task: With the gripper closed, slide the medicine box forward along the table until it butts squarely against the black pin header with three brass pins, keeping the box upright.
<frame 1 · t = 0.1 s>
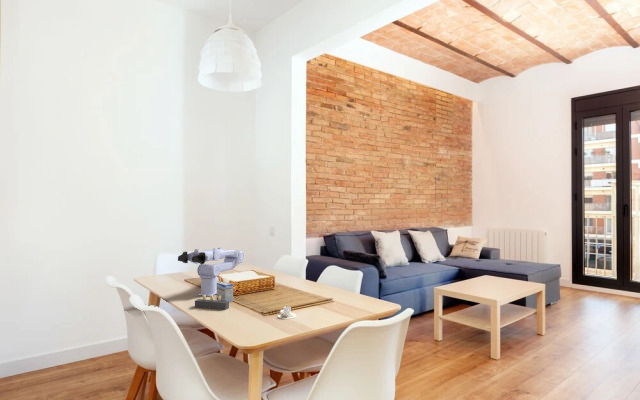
hand: (185, 258, 182), 22 cm above the table, tool horizontal, fingers open, 7 cm apart
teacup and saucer: (291, 315, 166), on the table
pin header: (211, 307, 177), on the table
medicine box: (224, 301, 188), on the table
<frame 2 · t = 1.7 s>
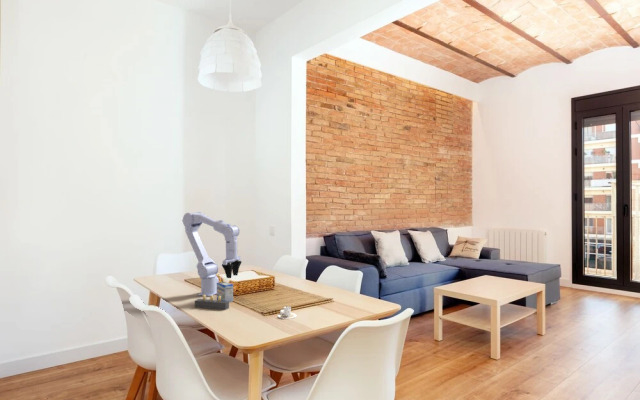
hand: (232, 276, 194), 10 cm above the table, tool pointing down, fingers open, 6 cm apart
nothing on the table moved.
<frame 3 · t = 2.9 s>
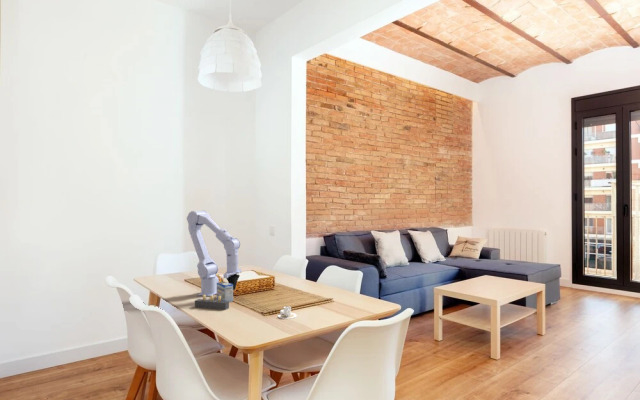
hand: (232, 289, 195), 4 cm above the table, tool pointing down, fingers closed
nothing on the table moved.
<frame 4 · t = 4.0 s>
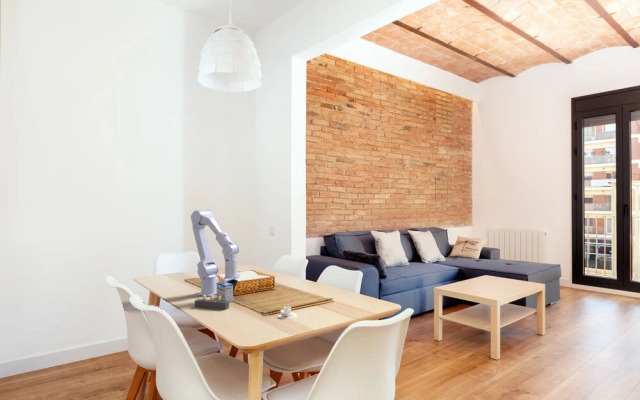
hand: (231, 294, 194), 1 cm above the table, tool pointing down, fingers closed
medicine box: (224, 301, 188), on the table, touching gripper
everything else where it was.
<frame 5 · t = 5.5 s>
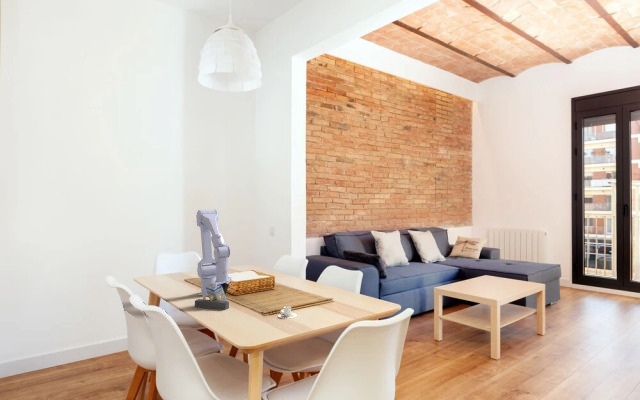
hand: (222, 299, 186), 1 cm above the table, tool pointing down, fingers closed, pressing on medicine box
medicine box: (219, 302, 183), point 1 cm above the table, touching gripper
everything else where it was.
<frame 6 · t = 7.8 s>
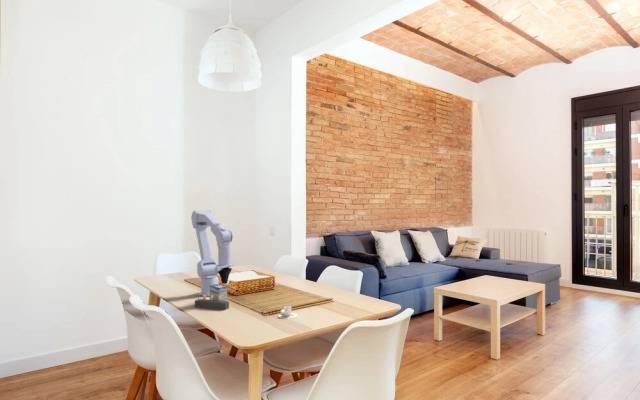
hand: (224, 283, 188), 9 cm above the table, tool pointing down, fingers closed
medicine box: (218, 304, 183), on the table
everything else where it was.
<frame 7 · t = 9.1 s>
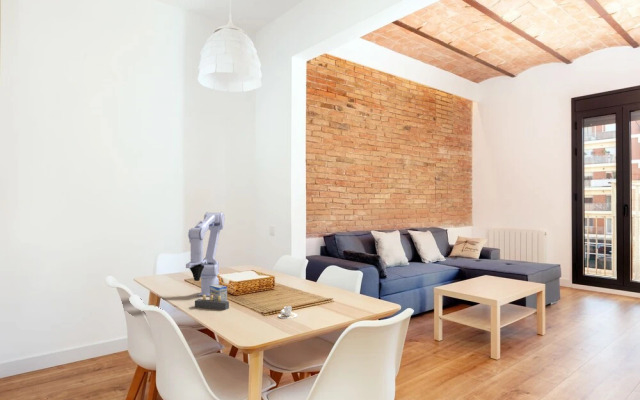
hand: (196, 280, 186), 10 cm above the table, tool pointing down, fingers closed
nothing on the table moved.
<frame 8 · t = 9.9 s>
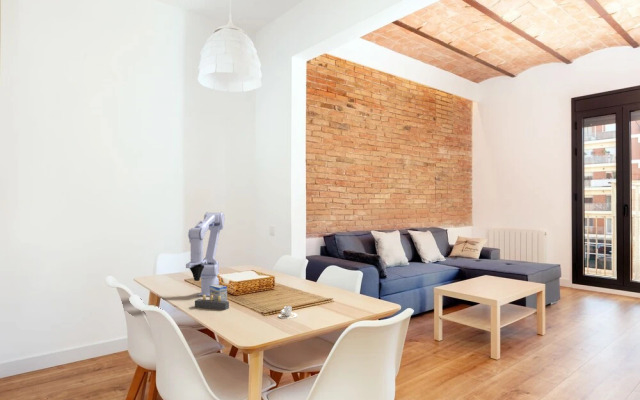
hand: (196, 280, 186), 10 cm above the table, tool pointing down, fingers closed
nothing on the table moved.
at the end: medicine box inside the target area (1.5 cm from its centre), on the table; medicine box tilted 0°; medicine box moved 5.6 cm from its start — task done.
